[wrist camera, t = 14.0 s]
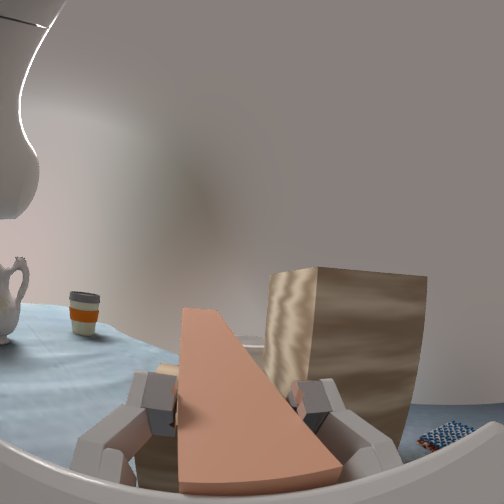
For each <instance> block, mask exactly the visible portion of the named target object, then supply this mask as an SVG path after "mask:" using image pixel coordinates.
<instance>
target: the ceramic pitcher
mask: <svg viewBox="0 0 504 504" xmlns="http://www.w3.org/2000/svg"><path fill="white" fill-rule="evenodd" d="M15 258H16V261H15V263H14V265H13V267H11V268H6V269H5V268H4V267H3V266H2V265H1V264H0V345H2V344H8V343H9V341H10V340H9V339H8V338H7V335H8V334H10V333H12V332H13V331H14V329H15V328H16V326H17V323H18V320H19V314H20V302H21V300H22V298H23V297H24V294H25V292H26V290H27V287H28V283H29V270H28V267H27V263H26V260H25V258H23V257H15ZM16 270H21V271H22V272H23V282H22V284H21V287H20V289H19V291H18V295H17V298H16V300H15V299H14V297H13V296H12V295H11V293H10V292H9V278H10V275H11V274H13V273H14V272H15V271H16Z"/></svg>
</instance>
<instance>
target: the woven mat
mask: <svg viewBox="0 0 504 504" xmlns="http://www.w3.org/2000/svg"><path fill="white" fill-rule="evenodd" d="M454 422H455V421H452V422H450V423H447V424H446V426H445V425H442V427H439V428H437V429H434V430H432V431H430V432H431V433H430V432H426V433H427V434H423V435H421V437H420V440H417V443H418V444H419V445H421V446H423V447H425V448H427V449H429V450H431V451H433V452H435V451H437V450H439V449H442V448H444V447H446V446H448V445H450V444H452V443H454V442H456V441H458V440H459V439H461V438H463V437H465V436H467V435H469V434H470V433H472V432H474V431H476V430H472V429H473V428H470V429H469V428H466V427H467V425H465V426H464V427H463V425H462V426H460V425H461V423H458V424H457V423H456V424H455V423H454ZM471 430H472V431H471ZM421 441H422V442H421ZM431 446H432V447H431ZM433 448H435V449H433Z"/></svg>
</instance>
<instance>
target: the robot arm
mask: <svg viewBox="0 0 504 504" xmlns="http://www.w3.org/2000/svg"><path fill="white" fill-rule="evenodd" d="M66 1H67V0H0V219H16V218H17V217H18V216H20V215H21V214H22V213H23V212H24V211H25V210H26V209H27V207H28V206H29V204H30V203H31V201H32V199H33V197H34V195H35V192H36V190H37V186H38V181H39V163H38V158H37V155H36V152H35V150H34V148H33V147H32V146H31V144H30V143H29V141H28V139H27V137H26V135H25V132H24V129H23V126H22V122H21V116H20V98H21V92H22V88H23V84H24V81H25V78H26V76H27V73H28V70H29V68H30V65H31V63H32V61H33V59H34V56H35V54H36V52H37V50H38V48H39V46H40V44H41V43H42V41H43V39H44V37H45V36H46V34H47V32H48V30H49V27H51V26H52V24H53V22H54V21H55V19H56V17H57V16H58V14H59V13H60V11H61V10H62V8H63V6H64V5H65V3H66ZM291 389H292V391H291V392H290V393H288V395H287V398H286V401H287V402H288V404H289V405H290V406H291V407H292V408H293V410H294V411H295V412H296V413H297V414H298V416H299V417H300V418H301V420H302V421H303V422H304V423H305V424H306V425H307V426H308V427H309V428H310V430H311V431H312V432H313V433H314V434H315V435H316V437H317V438H318V439H319V440H320V441H321V442H322V443H323V444H324V446H325V447H326V448H327V449H328V450H329V451H330V452H331V453H332V454H333V455H334V457H335V458H336V459H337V460H338V461H339V462H340V463H341V464H342V465H343V468H342V471H341V473H340V476H339V479H338V482H337V484H335V485H331V486H326V487H320V488H315V489H309V490H302V491H295V492H287V493H278V494H266V495H248V496H209V495H192V494H180V493H171V492H163V491H156V490H149V489H143V488H138V487H136V480H137V478H136V476H135V475H134V473H133V471H132V469H131V467H130V466H129V464H128V462H129V460H130V459H131V458H132V457H133V456H134V455H135V454H136V453H137V452H138V451H139V450H140V448H141V447H142V446H143V445H144V444H145V443H146V442H147V441H148V439H149V438H150V437H151V436H152V435H161V436H171V437H175V429H176V413H177V404H178V389H177V376H173V375H166V374H160V373H153V372H147V371H141V370H135V372H134V374H133V378H132V382H131V385H130V389H129V393H128V397H127V401H126V405H124V404H121V405H120V406H119V407H118V408H116V409H115V410H114V411H113V412H111V413H110V414H109V415H108V416H106V417H105V418H104V419H103V420H101V421H100V422H99V423H97V424H96V425H95V426H94V427H92V428H91V429H90V430H88V431H87V432H86V433H85V434H83V435H82V436H81V437H79V438H78V441H77V445H76V448H75V452H74V455H73V459H72V463H71V467H70V469H67V468H64V467H62V466H59V465H56V464H54V463H51V462H49V461H46V460H44V459H41V458H39V457H37V456H35V455H32V454H30V453H28V452H26V451H24V450H22V449H20V448H18V447H16V446H14V445H12V444H10V443H8V442H6V441H4V440H2V439H1V438H0V504H504V425H502V424H500V423H497V422H495V421H493V422H489V423H487V424H486V425H484V426H482V427H481V428H479V429H477V430H476V431H474V432H472V433H470V434H469V435H467V436H465V437H463V438H461V439H459V440H458V441H456V442H454V443H452V444H450V445H448V446H446V447H444V448H442V449H439V450H437V451H435V452H433V453H431V454H428V455H426V456H424V457H421V458H419V459H417V460H414V461H412V462H409V463H406V464H403V462H402V460H401V458H400V456H399V453H398V451H397V449H396V447H395V445H394V443H393V440H392V439H390V438H389V437H388V436H386V435H385V434H383V433H382V432H380V431H379V430H377V429H376V428H375V427H373V426H372V425H370V424H369V423H368V422H366V421H365V420H363V419H362V418H361V417H359V416H358V415H357V414H355V413H354V412H352V411H351V410H350V409H349V410H346V408H345V406H344V403H343V401H342V399H341V396H340V394H339V391H338V389H337V387H336V384H335V382H334V380H333V379H332V378H329V379H310V380H294V381H293V382H292V385H291Z"/></svg>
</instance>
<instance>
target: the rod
mask: <svg viewBox="0 0 504 504" xmlns="http://www.w3.org/2000/svg"><path fill="white" fill-rule="evenodd" d="M181 327H182V328H181V343H180V359H179V383H178V476H179V493H180V494H192V495H209V496H248V495H266V494H278V493H287V492H295V491H302V490H309V489H315V488H320V487H326V486H331V485H335V484H337V482H338V479H339V476H340V473H341V471H342V468H343V465H342V464H341V463H340V462H339V461H338V460H337V459H336V458H335V457H334V455H333V454H332V453H331V452H330V451H329V450H328V449H327V448H326V447H325V446H324V444H323V443H322V442H321V441H320V440H319V439H318V438H317V437H316V435H315V434H314V433H313V432H312V431H311V430H310V428H309V427H308V426H307V425H306V424H305V423H304V422H303V421H302V420H301V418H300V417H299V416H298V414H297V413H296V412H295V411H294V410H293V408H292V407H291V406H290V405H289V404H288V402H287V401H286V400H285V399H284V398H283V396H282V395H281V394H280V393H279V391H278V390H277V389H276V388H275V386H274V385H273V384H272V383H271V381H270V380H269V379H268V378H267V376H266V375H265V374H264V373H263V371H262V370H261V369H260V367H259V366H258V365H257V364H256V362H255V361H254V360H253V358H252V357H251V356H250V354H249V353H248V352H247V350H246V349H245V348H244V347H243V345H242V344H241V342H240V341H239V340H238V338H237V337H236V336H235V334H234V333H233V332H232V330H231V329H230V328H229V326H228V325H227V323H226V322H225V321H224V319H223V318H222V317H221V315H220V314H219V313H218V311H217V310H207V309H194V308H184V307H183V313H182V326H181Z"/></svg>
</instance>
